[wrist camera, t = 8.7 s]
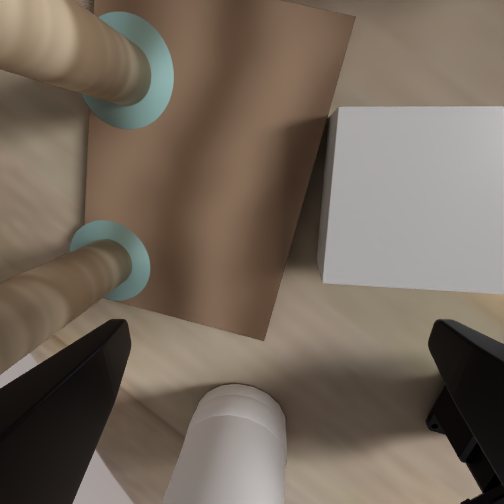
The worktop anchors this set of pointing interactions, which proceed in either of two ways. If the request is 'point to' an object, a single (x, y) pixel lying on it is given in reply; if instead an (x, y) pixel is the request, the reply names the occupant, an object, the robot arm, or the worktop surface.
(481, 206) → the cover
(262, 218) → the board
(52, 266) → the pin
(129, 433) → the worktop surface
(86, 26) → the pin loose
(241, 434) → the bottle
